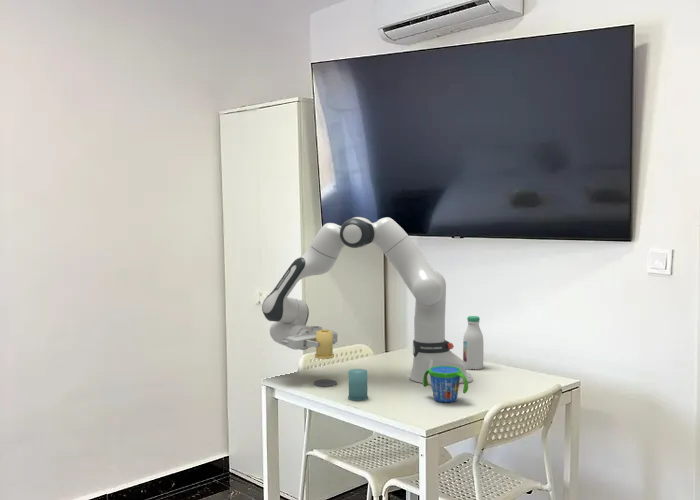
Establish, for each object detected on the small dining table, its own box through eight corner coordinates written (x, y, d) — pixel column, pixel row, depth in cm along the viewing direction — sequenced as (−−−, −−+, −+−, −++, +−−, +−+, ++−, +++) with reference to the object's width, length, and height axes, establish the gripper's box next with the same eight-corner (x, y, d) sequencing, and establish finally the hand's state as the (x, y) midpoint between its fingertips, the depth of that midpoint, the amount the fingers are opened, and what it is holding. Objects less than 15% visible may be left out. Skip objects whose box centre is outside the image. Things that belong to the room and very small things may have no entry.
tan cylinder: (333, 354, 251) (333, 327, 250) (334, 358, 244) (334, 331, 243) (314, 354, 250) (314, 328, 250) (315, 359, 244) (315, 331, 243)
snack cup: (416, 398, 228) (416, 368, 228) (435, 392, 236) (435, 362, 235) (455, 408, 218) (455, 376, 217) (474, 401, 225) (474, 370, 225)
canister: (367, 394, 233) (366, 368, 233) (369, 400, 227) (368, 373, 226) (347, 395, 233) (347, 368, 232) (348, 401, 226) (348, 373, 226)
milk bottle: (486, 367, 271) (486, 316, 270) (478, 371, 265) (479, 319, 263) (467, 364, 275) (468, 314, 274) (459, 368, 269) (460, 317, 268)
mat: (336, 380, 252) (336, 378, 252) (337, 386, 244) (337, 384, 244) (313, 381, 252) (313, 379, 252) (313, 387, 243) (313, 385, 243)
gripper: (278, 332, 249) (302, 338, 239) (322, 325, 263) (347, 331, 253) (278, 350, 250) (303, 356, 240) (322, 342, 263) (347, 348, 253)
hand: (326, 343), depth 246 cm, fingers closed on tan cylinder, 6 cm apart
